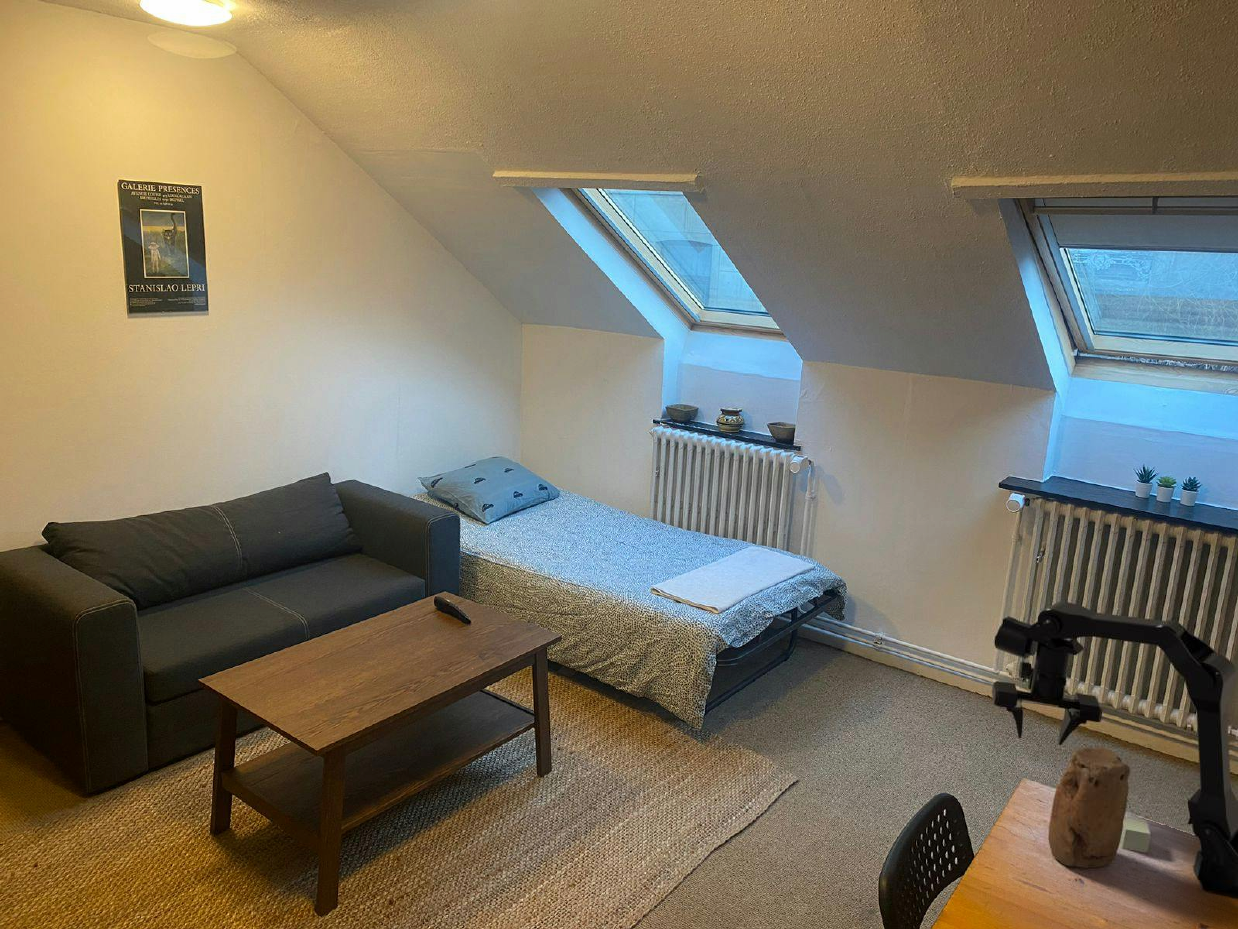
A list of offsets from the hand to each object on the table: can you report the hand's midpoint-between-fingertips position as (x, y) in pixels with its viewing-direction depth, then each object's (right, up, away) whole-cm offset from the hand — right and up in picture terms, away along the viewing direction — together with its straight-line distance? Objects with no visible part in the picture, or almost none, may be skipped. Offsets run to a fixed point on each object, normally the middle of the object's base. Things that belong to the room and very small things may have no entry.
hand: (1039, 740), depth 178 cm
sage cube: (+12, -16, -11) cm, 22 cm away
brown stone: (0, -16, -15) cm, 22 cm away
